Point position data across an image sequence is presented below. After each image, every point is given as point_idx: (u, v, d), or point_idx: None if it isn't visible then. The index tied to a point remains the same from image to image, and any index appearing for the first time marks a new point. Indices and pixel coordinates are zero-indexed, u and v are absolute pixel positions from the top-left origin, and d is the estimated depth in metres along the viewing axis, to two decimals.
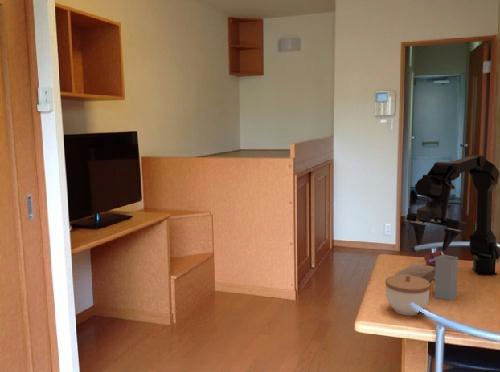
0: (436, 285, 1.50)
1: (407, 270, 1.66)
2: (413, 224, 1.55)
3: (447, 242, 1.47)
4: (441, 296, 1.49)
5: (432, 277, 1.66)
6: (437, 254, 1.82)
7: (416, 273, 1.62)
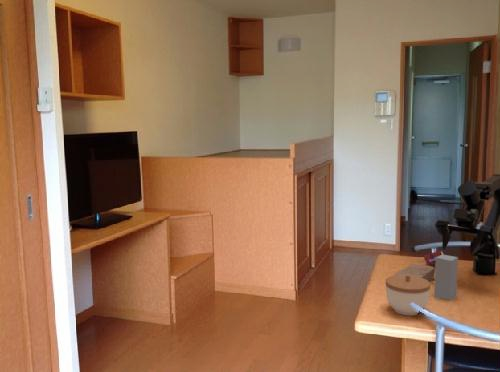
0: (436, 285, 1.50)
1: (407, 270, 1.66)
2: (443, 228, 1.60)
3: (477, 246, 1.51)
4: (441, 296, 1.49)
5: (431, 277, 1.67)
6: (437, 254, 1.82)
7: (416, 273, 1.63)
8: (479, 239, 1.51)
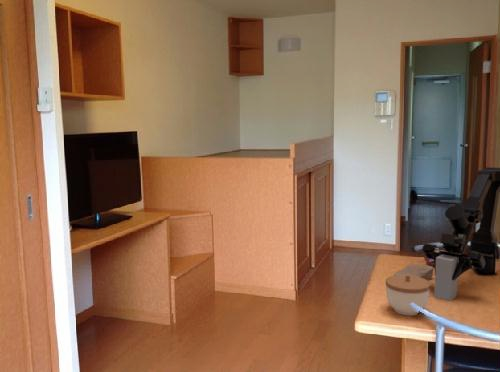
0: (436, 285, 1.50)
1: (406, 270, 1.66)
2: (435, 254, 1.53)
3: (458, 272, 1.47)
4: (441, 296, 1.49)
5: (430, 277, 1.67)
6: None
7: (415, 273, 1.63)
8: (461, 264, 1.47)
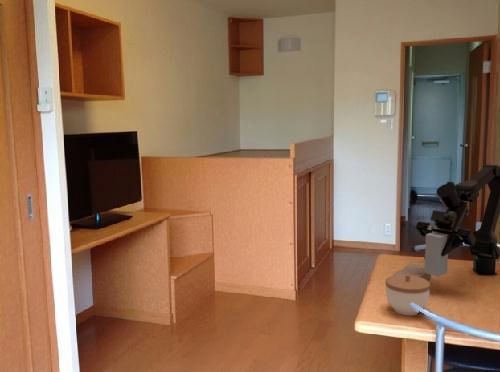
0: (426, 261, 1.53)
1: (405, 270, 1.66)
2: (427, 231, 1.56)
3: (448, 248, 1.50)
4: (431, 272, 1.52)
5: (429, 276, 1.67)
6: None
7: (414, 273, 1.63)
8: (450, 241, 1.50)
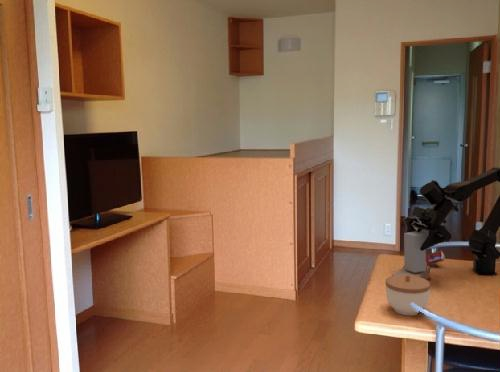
0: (405, 258, 1.65)
1: (404, 270, 1.66)
2: (408, 225, 1.68)
3: (427, 243, 1.58)
4: (408, 268, 1.64)
5: (428, 276, 1.68)
6: (437, 254, 1.82)
7: (413, 273, 1.63)
8: (429, 236, 1.58)
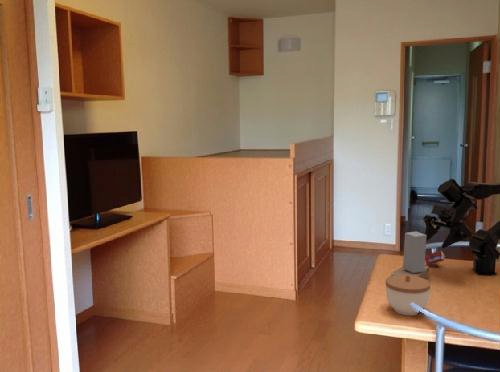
0: (404, 258, 1.65)
1: (402, 270, 1.67)
2: (427, 223, 1.72)
3: (448, 241, 1.61)
4: (407, 268, 1.64)
5: (426, 276, 1.68)
6: (437, 254, 1.82)
7: None
8: (451, 234, 1.61)
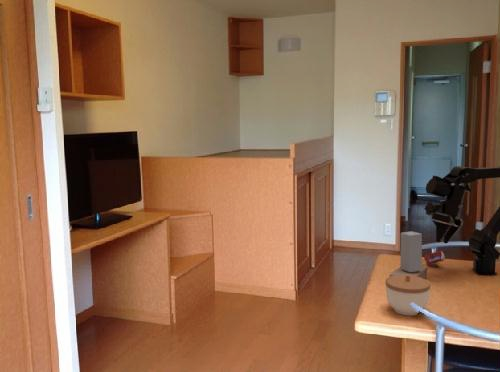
0: (401, 258, 1.66)
1: (401, 269, 1.67)
2: None
3: (438, 233, 1.64)
4: (404, 268, 1.65)
5: (425, 276, 1.68)
6: (437, 254, 1.82)
7: (410, 272, 1.64)
8: None
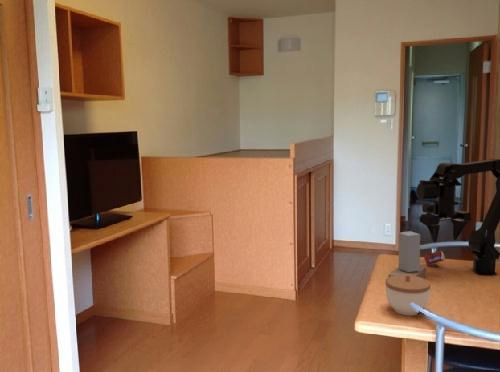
0: (399, 258, 1.66)
1: (399, 269, 1.67)
2: None
3: (431, 234, 1.67)
4: (402, 268, 1.65)
5: (423, 275, 1.69)
6: (437, 254, 1.82)
7: (409, 272, 1.64)
8: None
